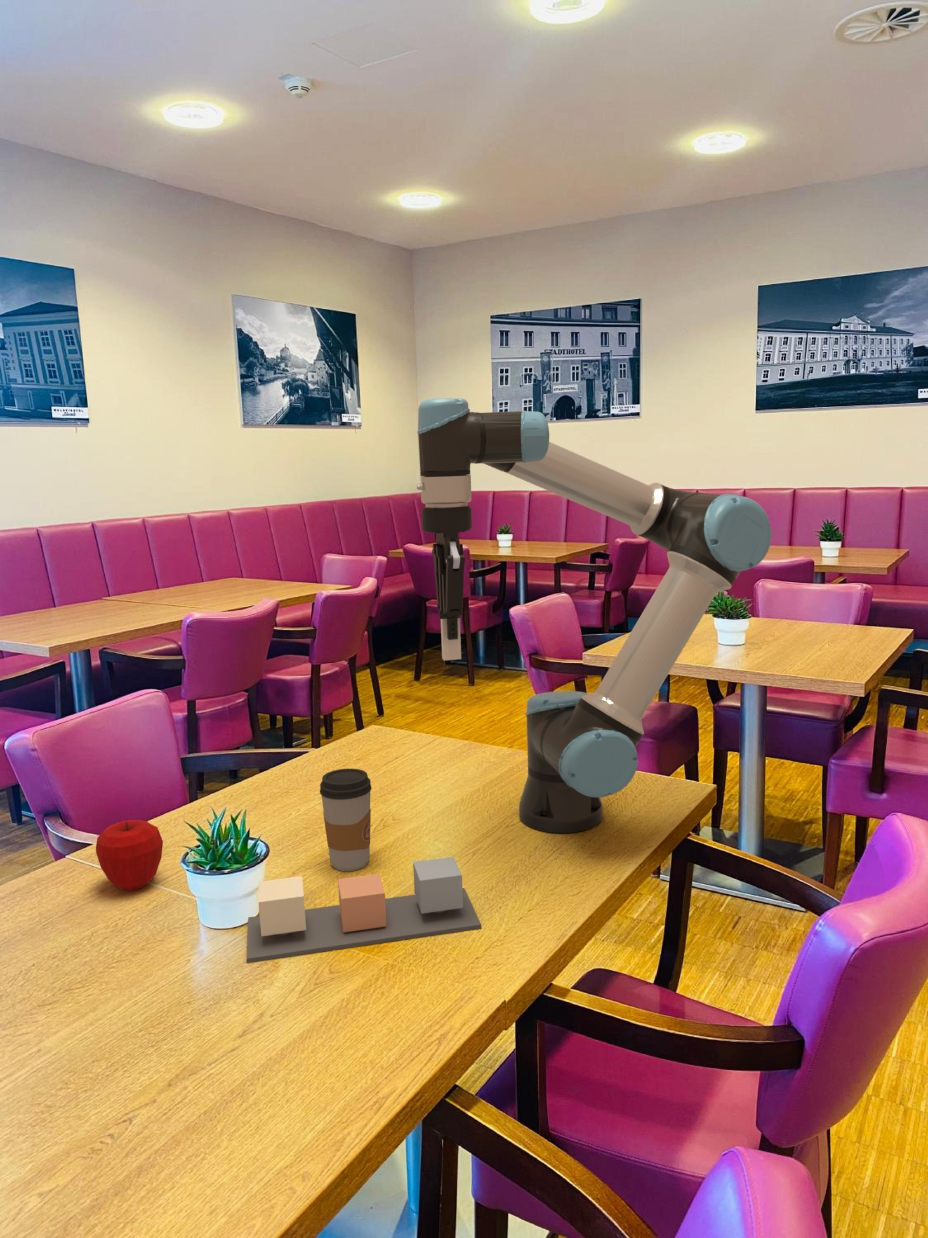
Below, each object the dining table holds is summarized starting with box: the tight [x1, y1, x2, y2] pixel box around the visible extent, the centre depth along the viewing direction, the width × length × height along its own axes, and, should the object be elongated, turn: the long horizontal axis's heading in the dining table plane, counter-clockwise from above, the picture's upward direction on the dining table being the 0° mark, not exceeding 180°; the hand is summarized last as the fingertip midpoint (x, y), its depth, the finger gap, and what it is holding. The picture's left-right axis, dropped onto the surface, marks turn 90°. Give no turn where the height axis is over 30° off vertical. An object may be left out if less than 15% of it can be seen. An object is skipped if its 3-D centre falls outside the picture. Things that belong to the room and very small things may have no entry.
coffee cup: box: [319, 768, 372, 872], centre depth 143 cm, size 8×8×15 cm
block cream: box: [258, 875, 306, 936], centre depth 122 cm, size 6×6×5 cm
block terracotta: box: [337, 873, 386, 932], centre depth 125 cm, size 6×6×5 cm
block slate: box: [412, 856, 463, 914], centre depth 127 cm, size 6×6×5 cm
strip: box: [246, 887, 482, 964], centre depth 125 cm, size 32×11×2 cm, turn 103°
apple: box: [95, 819, 164, 892], centre depth 138 cm, size 10×10×11 cm
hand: (451, 658), depth 136 cm, fingers closed
